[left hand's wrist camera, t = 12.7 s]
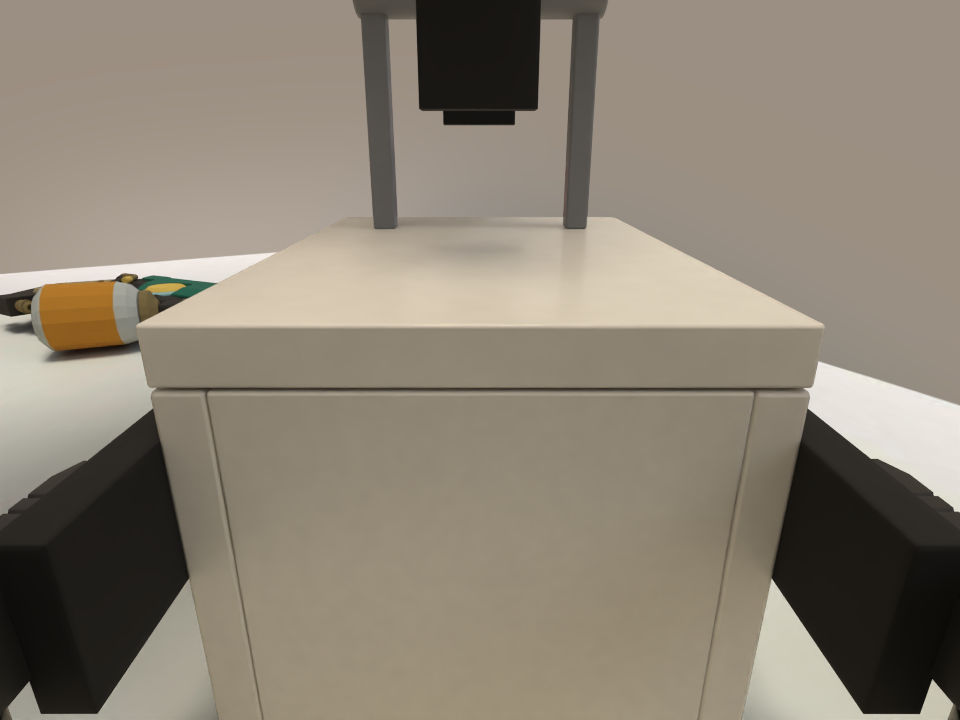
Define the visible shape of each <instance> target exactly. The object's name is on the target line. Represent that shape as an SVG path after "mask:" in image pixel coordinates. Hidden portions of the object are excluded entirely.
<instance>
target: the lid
mask: <svg viewBox="0 0 960 720" xmlns="http://www.w3.org/2000/svg"><path fill="white" fill-rule="evenodd" d="M607 3H608V0H541V19H573V26H572V47H571V67H570V88H569V109H568V130H567V151H566V171H565V193H564V213H563V217H397V197H396V176H395V155H394V134H393V112H392V91H391V70H390V49H389V28H388V19H416V0H353V4H354V8H355V11H356V14H357V16H358V17H359V18H360V19H361V25H362V42H363V59H364V75H365V91H366V108H367V124H368V141H369V157H370V173H371V189H372V206H373V217H347V218H345V219H343V220H341V221H339V222H337V223H335V224H333V225H331V226H329V227H327V228H325V229H323V230H321V231H319V232H317V233H315V234H313V235H311V236H309V237H307V238H305V239H303V240H302V241H299V242H298V243H296V244H294V245H292V246H290V247H288V248H286V249H284V250H282V251H280V252H278V253H276V254H274V255H272V256H270V257H268V258H266V259H264V260H262V261H260V262H258V263H256V264H254V265H252V266H251V267H249V268H247V269H245V270H243V271H241V272H239V273H237V274H235V275H233V276H231V277H229V278H227V279H225V280H223V281H221V282H219V283H217V284H215V285H213V286H211V287H209V288H207V289H206V290H204V291H202V292H200V293H198V294H196V295H194V296H192V297H190V298H188V299H186V300H184V301H182V302H180V303H178V304H176V305H174V306H172V307H170V308H168V309H166V310H164V311H162V312H160V313H159V314H157V315H155V316H153V317H151V318H149V319H147V320H145V321H143V322H141V323H139V324H137V326H136V332H137V336H138V341H139V346H140V351H141V355H142V360H143V365H144V370H145V374H146V379H147V384H148V386H149V387H151V388H810V387H812V386H813V384H814V379H815V374H816V369H817V365H818V360H819V355H820V350H821V346H822V341H823V336H824V332H825V326H824V325H823V324H822V323H820V322H818V321H816V320H814V319H812V318H810V317H808V316H806V315H804V314H802V313H800V312H798V311H796V310H794V309H792V308H790V307H788V306H786V305H784V304H782V303H781V302H778V301H777V300H775V299H773V298H771V297H769V296H767V295H765V294H763V293H761V292H759V291H757V290H755V289H753V288H751V287H749V286H747V285H745V284H743V283H741V282H739V281H737V280H735V279H734V278H731V277H730V276H728V275H726V274H724V273H722V272H720V271H718V270H716V269H714V268H712V267H710V266H708V265H706V264H704V263H702V262H700V261H698V260H696V259H694V258H692V257H690V256H688V255H687V254H684V253H683V252H680V251H679V250H677V249H675V248H673V247H671V246H669V245H667V244H665V243H663V242H661V241H659V240H657V239H655V238H653V237H651V236H649V235H647V234H645V233H643V232H641V231H639V230H637V229H636V228H634V227H632V226H630V225H628V224H626V223H624V222H622V221H620V220H618V219H616V218H614V217H587V213H588V197H589V181H590V165H591V149H592V133H593V117H594V100H595V84H596V68H597V52H598V35H599V19H601V18H602V17H603V15H604V13H605V11H606V7H607Z"/></svg>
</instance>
